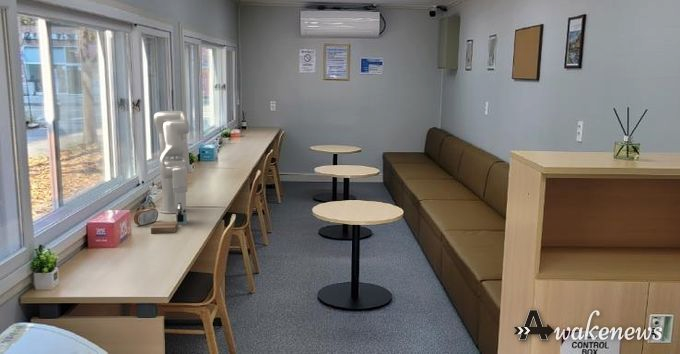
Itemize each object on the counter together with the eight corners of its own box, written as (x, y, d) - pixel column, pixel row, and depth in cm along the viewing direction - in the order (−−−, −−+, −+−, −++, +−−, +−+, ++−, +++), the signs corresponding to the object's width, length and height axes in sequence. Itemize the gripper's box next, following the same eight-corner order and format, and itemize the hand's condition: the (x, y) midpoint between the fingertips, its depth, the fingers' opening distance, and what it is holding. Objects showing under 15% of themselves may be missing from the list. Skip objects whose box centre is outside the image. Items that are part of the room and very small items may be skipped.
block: (177, 222, 320) (177, 211, 319) (187, 222, 320) (186, 211, 319) (176, 224, 315) (176, 214, 314) (185, 224, 316) (185, 213, 314)
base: (155, 227, 309) (155, 222, 309) (178, 226, 311) (177, 221, 310) (151, 233, 298) (150, 228, 297) (174, 233, 299) (174, 227, 299)
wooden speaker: (155, 220, 323) (154, 206, 322) (159, 221, 322) (158, 206, 320) (133, 226, 311) (132, 211, 309) (137, 227, 309) (136, 212, 308)
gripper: (175, 186, 322) (177, 216, 325) (170, 192, 305) (172, 223, 308) (189, 186, 323) (190, 215, 326) (185, 192, 306) (186, 223, 309)
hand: (181, 219), depth 317 cm, fingers open, 9 cm apart
